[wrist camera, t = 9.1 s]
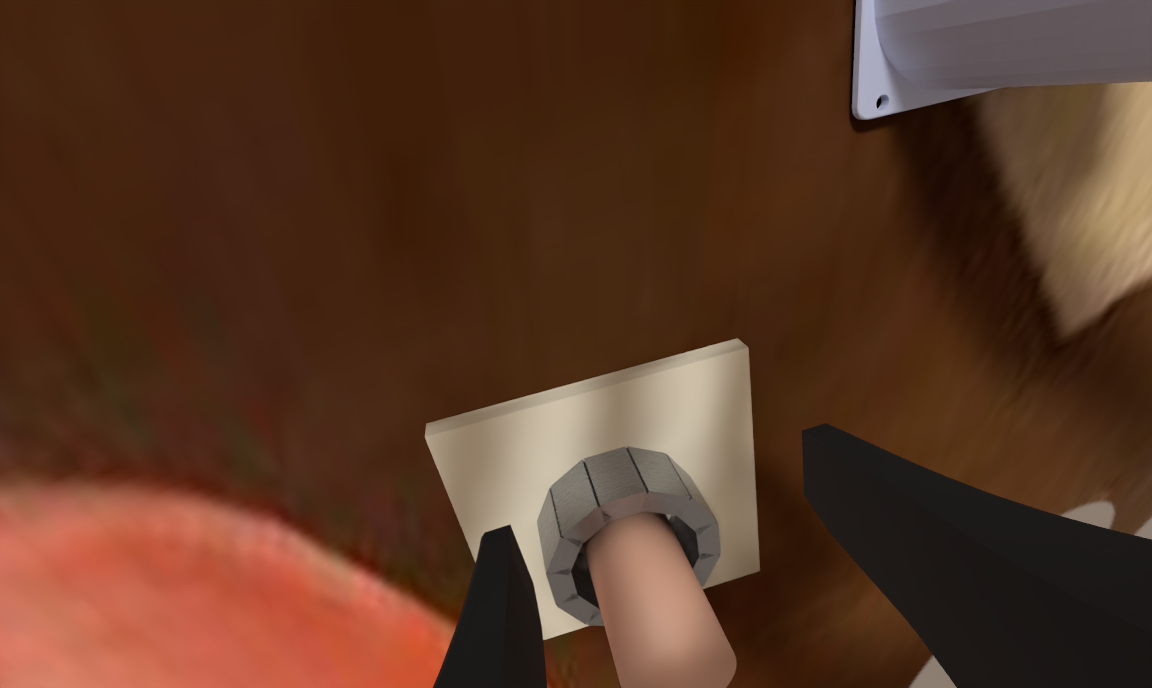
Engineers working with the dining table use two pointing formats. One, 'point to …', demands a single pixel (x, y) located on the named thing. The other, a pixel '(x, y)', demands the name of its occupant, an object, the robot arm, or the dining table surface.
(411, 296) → the dining table surface
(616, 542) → the peg
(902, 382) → the dining table surface
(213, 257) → the dining table surface
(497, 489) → the socket board
